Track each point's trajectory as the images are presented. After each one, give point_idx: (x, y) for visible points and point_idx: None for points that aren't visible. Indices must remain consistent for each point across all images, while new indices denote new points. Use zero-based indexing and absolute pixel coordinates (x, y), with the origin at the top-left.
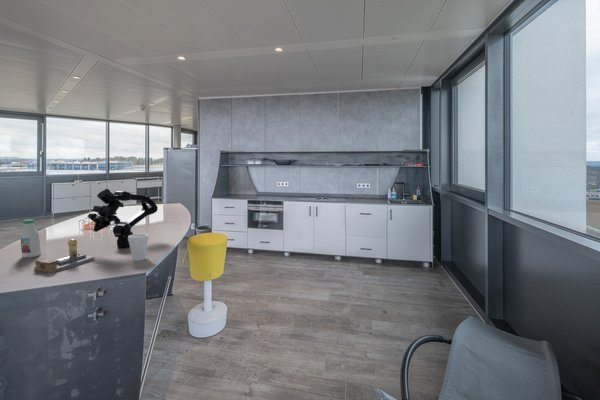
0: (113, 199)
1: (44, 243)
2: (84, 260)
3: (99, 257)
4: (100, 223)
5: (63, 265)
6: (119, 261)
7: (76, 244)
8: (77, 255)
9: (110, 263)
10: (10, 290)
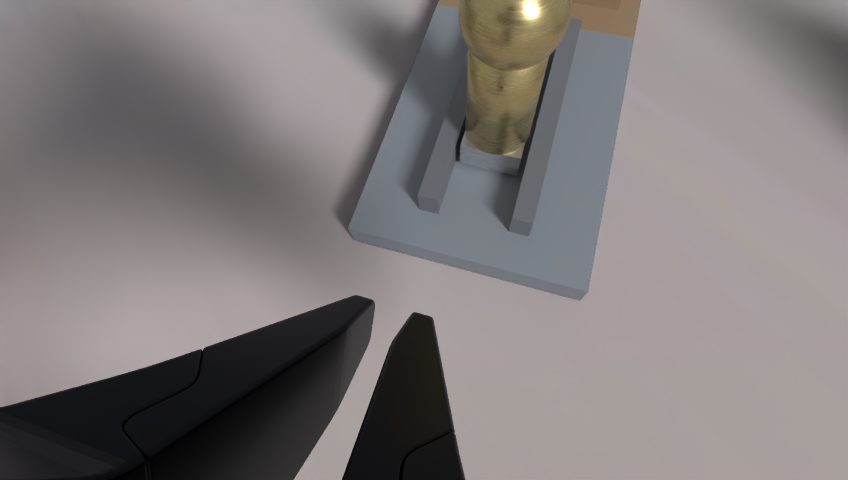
0: None
1: None
2: (382, 142)
3: None
4: (121, 398)
5: (456, 24)
6: (105, 215)
7: (464, 39)
8: (467, 142)
9: (163, 163)
10: None
